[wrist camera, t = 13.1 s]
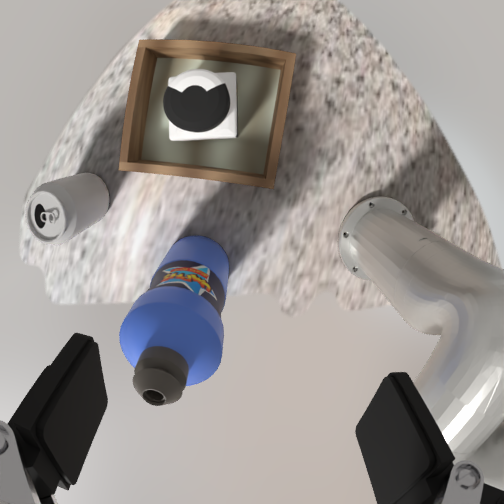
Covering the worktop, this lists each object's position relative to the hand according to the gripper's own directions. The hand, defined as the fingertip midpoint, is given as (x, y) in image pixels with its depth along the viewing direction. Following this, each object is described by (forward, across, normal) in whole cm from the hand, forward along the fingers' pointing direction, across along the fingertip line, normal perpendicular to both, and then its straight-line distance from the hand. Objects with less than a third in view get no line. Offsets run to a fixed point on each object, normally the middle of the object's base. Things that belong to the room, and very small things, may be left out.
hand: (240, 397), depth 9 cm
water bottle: (+33, +5, +10) cm, 35 cm away
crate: (+33, +6, -11) cm, 35 cm away
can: (+33, +22, +2) cm, 40 cm away
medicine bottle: (+32, +6, -11) cm, 35 cm away
